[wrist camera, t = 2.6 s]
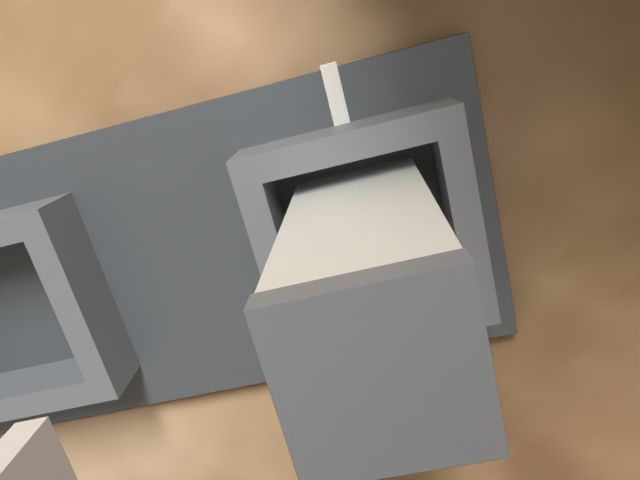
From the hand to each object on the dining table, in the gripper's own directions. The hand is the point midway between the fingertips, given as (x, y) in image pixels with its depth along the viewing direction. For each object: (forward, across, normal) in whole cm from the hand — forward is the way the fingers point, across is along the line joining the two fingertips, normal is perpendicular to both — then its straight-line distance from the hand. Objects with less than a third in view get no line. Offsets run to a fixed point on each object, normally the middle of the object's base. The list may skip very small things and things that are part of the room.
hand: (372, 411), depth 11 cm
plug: (+12, 0, 0) cm, 12 cm away
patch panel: (+12, -7, 0) cm, 14 cm away
